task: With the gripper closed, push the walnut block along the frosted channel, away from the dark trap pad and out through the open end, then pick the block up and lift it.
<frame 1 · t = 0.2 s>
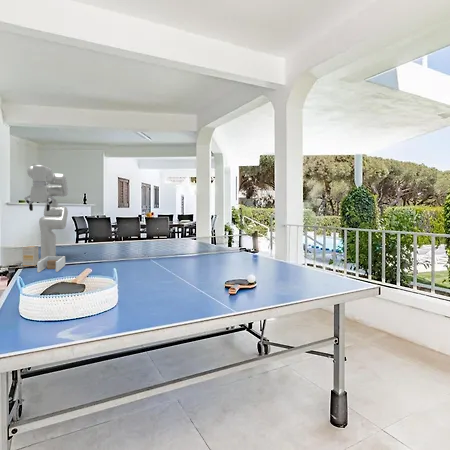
hand: (39, 210, 223), 36 cm above the table, tool pointing down, fingers open, 9 cm apart
frosted channel: (52, 268, 216), on the table
walnut block: (52, 268, 217), on the table
supplement box: (30, 266, 223), on the table
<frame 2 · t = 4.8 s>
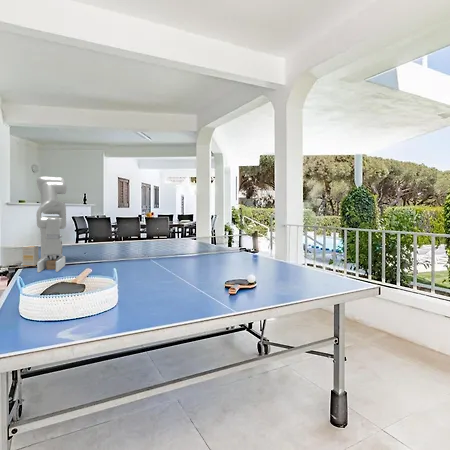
hand: (53, 265, 219), 1 cm above the table, tool pointing down, fingers closed
walnut block: (51, 268, 215), on the table, touching gripper
everything else where it was.
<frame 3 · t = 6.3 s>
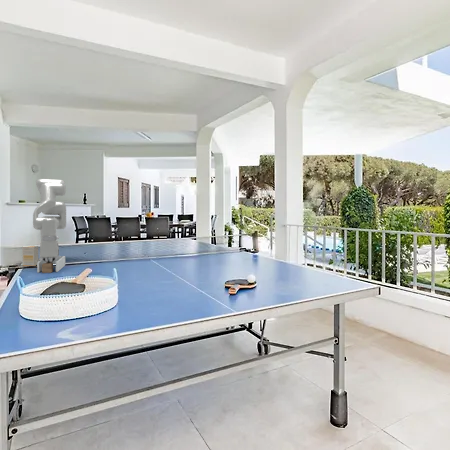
hand: (49, 268, 209), 1 cm above the table, tool pointing down, fingers closed
walnut block: (47, 272, 205), on the table, touching gripper
everything else where it was.
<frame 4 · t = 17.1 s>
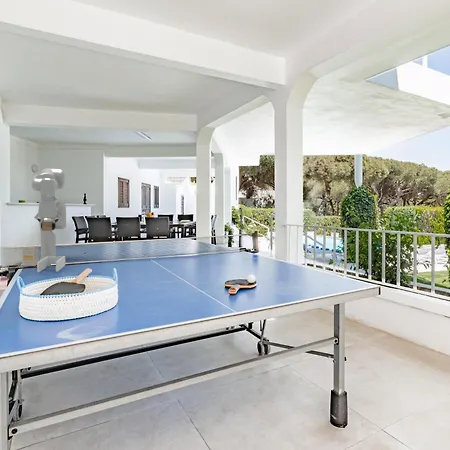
hand: (48, 229, 206), 25 cm above the table, tool pointing down, fingers closed on walnut block, 5 cm apart
walnut block: (48, 230, 205), point 25 cm above the table, touching gripper
everything else where it was.
at the end: walnut block point 24.8 cm above the table; the gripper is holding walnut block; walnut block moved 26.9 cm from its start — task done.
